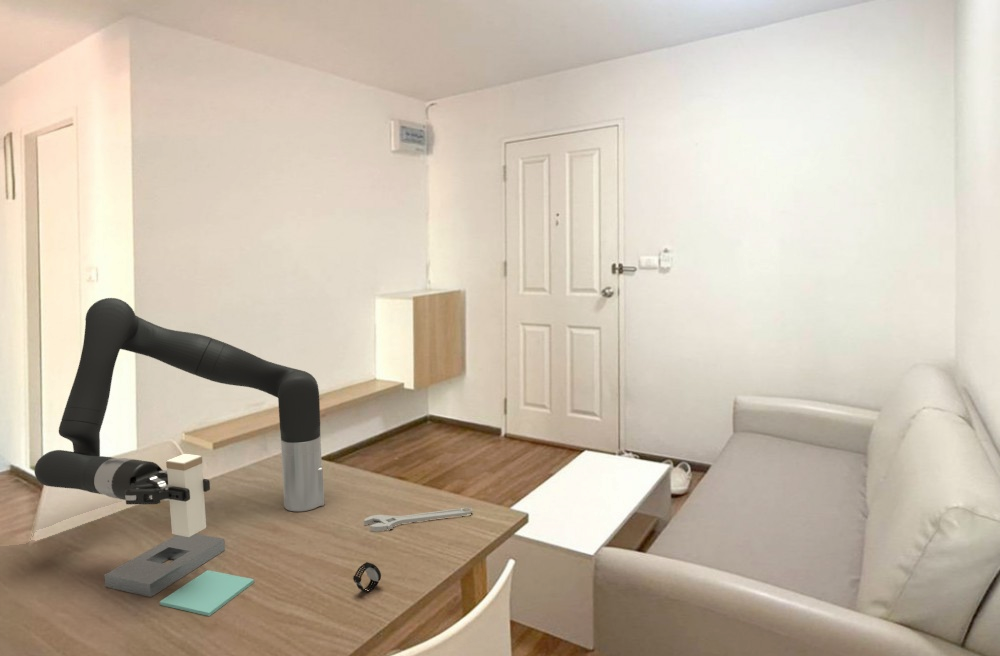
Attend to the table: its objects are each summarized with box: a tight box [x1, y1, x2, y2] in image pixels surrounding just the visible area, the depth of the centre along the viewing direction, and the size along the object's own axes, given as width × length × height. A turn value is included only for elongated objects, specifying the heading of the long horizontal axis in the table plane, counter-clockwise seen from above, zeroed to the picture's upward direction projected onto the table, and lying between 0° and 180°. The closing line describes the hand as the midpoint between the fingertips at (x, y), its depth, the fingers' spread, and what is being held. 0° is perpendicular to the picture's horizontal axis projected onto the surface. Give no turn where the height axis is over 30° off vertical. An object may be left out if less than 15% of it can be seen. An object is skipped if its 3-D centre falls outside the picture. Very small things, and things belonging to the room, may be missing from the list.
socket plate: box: [104, 533, 226, 598], centre depth 116 cm, size 18×11×2 cm, turn 162°
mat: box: [159, 569, 255, 617], centre depth 107 cm, size 11×11×1 cm
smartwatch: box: [352, 561, 382, 594], centre depth 108 cm, size 4×5×5 cm
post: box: [165, 453, 207, 537], centre depth 108 cm, size 4×4×14 cm
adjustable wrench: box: [363, 507, 473, 532], centre depth 136 cm, size 25×6×2 cm, turn 102°
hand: (198, 490), depth 107 cm, fingers closed on post, 4 cm apart
